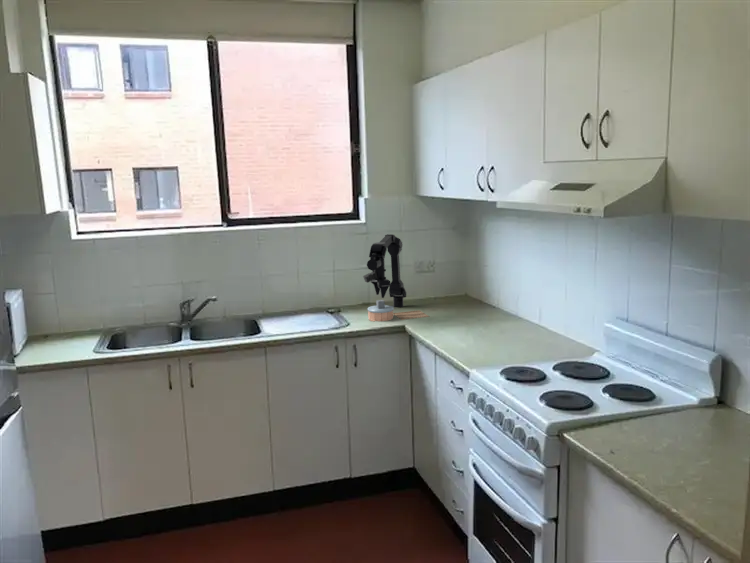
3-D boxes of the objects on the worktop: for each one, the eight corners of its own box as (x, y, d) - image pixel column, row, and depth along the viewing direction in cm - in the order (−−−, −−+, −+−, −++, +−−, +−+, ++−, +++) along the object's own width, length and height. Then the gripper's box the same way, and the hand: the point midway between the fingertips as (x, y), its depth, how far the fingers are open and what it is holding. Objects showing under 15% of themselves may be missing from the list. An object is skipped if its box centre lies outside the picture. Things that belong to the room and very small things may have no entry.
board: (392, 314, 346) (392, 313, 346) (419, 311, 351) (419, 310, 351) (401, 320, 331) (401, 319, 331) (429, 317, 336) (429, 316, 335)
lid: (364, 308, 340) (364, 299, 339) (389, 305, 344) (388, 297, 343) (371, 313, 327) (371, 304, 326) (397, 311, 330) (397, 302, 330)
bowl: (365, 317, 340) (365, 308, 339) (388, 315, 344) (388, 306, 343) (372, 322, 328) (372, 313, 327) (396, 320, 332) (396, 311, 331)
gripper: (359, 266, 337) (360, 294, 340) (369, 271, 320) (370, 301, 322) (379, 264, 340) (380, 292, 343) (390, 269, 323) (391, 299, 326)
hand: (380, 296), depth 334 cm, fingers open, 9 cm apart
